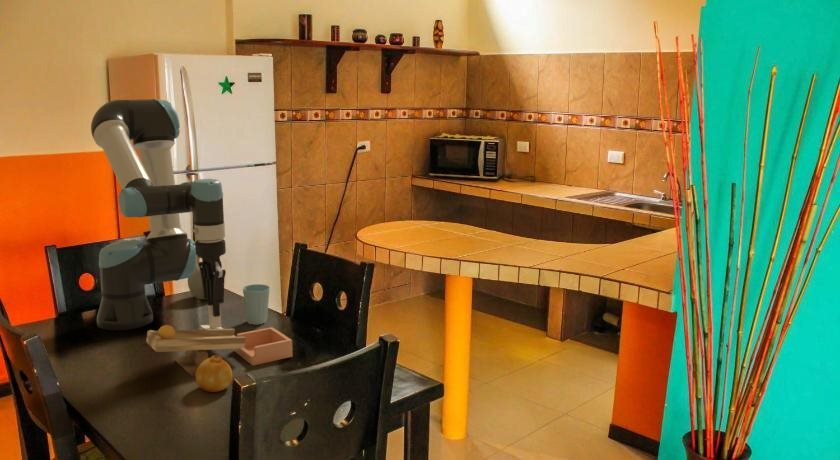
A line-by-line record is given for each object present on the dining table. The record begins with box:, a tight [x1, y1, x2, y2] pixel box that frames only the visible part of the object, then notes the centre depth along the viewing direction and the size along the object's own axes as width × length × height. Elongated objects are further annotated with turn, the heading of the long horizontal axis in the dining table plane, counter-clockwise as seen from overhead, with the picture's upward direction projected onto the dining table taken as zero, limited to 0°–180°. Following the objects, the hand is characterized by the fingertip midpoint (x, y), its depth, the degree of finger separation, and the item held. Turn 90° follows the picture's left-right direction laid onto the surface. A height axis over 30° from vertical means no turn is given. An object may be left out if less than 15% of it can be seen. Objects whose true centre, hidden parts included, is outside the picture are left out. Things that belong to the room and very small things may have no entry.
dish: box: [233, 326, 293, 367], centre depth 192 cm, size 12×11×4 cm
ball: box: [157, 324, 176, 339], centre depth 178 cm, size 4×4×4 cm
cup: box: [242, 283, 271, 326], centre depth 216 cm, size 8×8×10 cm
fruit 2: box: [194, 354, 233, 393], centre depth 170 cm, size 8×8×8 cm
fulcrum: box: [175, 350, 210, 377], centre depth 184 cm, size 12×7×5 cm, turn 36°
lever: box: [146, 324, 246, 353], centre depth 187 cm, size 17×22×3 cm
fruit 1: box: [187, 256, 206, 300], centre depth 238 cm, size 10×12×15 cm
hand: (215, 326), depth 195 cm, fingers closed
